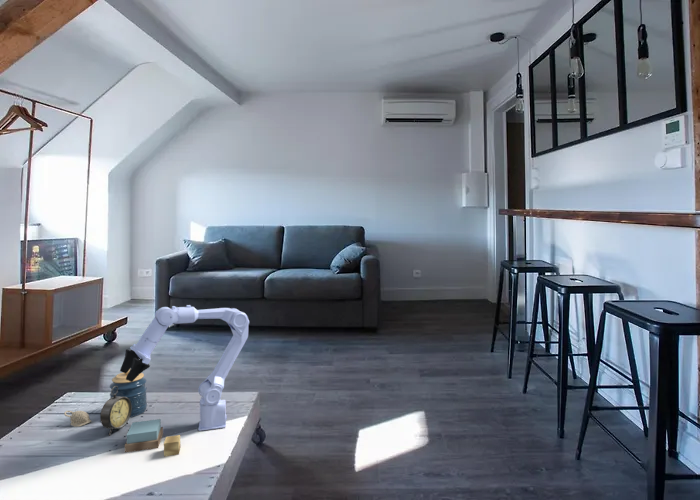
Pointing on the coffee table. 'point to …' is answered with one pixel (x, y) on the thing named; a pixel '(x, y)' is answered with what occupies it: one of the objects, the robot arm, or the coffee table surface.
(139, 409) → the canister
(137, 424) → the tower top
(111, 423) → the alarm clock
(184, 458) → the coffee table surface
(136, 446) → the tower base
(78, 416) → the decorative ornament
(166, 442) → the ochre cube
